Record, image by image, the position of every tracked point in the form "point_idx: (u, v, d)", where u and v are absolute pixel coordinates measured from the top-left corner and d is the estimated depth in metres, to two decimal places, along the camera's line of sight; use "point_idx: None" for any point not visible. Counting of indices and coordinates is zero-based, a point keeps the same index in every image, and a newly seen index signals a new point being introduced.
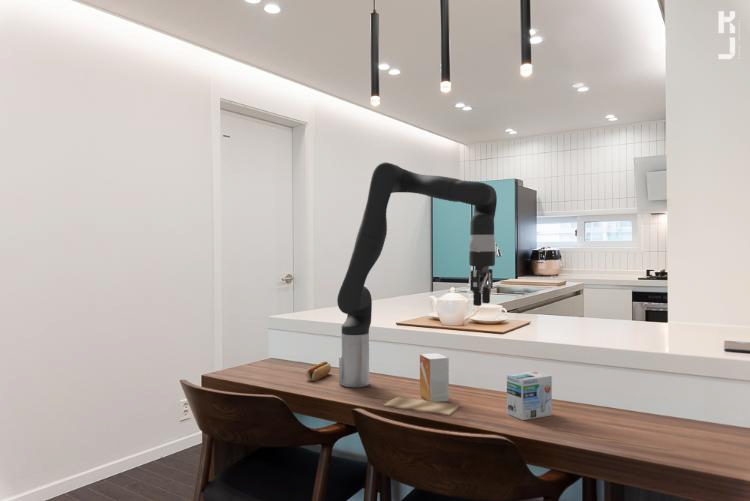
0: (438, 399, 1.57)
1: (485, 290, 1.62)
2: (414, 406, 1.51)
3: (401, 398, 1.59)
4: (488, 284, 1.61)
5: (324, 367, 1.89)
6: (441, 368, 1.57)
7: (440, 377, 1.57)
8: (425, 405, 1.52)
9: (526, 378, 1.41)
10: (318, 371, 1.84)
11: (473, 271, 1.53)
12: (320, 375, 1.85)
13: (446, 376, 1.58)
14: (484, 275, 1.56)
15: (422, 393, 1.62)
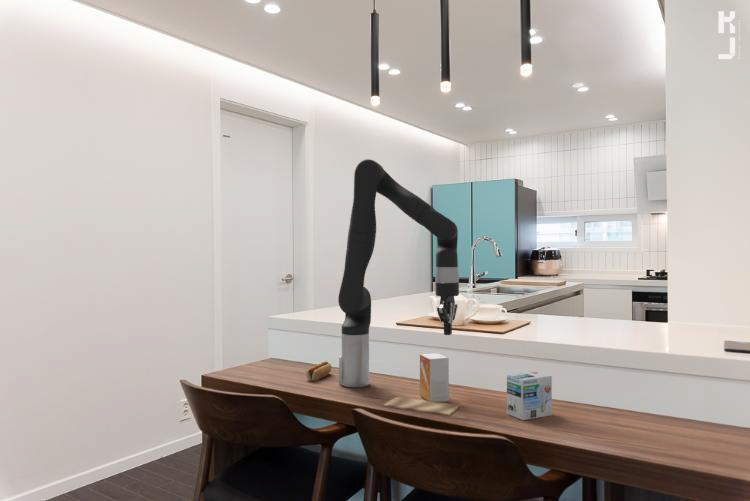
0: (438, 399, 1.57)
1: None
2: (414, 406, 1.51)
3: (401, 398, 1.59)
4: None
5: (324, 367, 1.89)
6: (441, 368, 1.57)
7: (439, 377, 1.57)
8: (425, 405, 1.52)
9: (526, 378, 1.41)
10: (318, 371, 1.84)
11: (439, 309, 1.67)
12: (320, 375, 1.85)
13: (446, 376, 1.58)
14: (449, 306, 1.69)
15: (422, 393, 1.62)
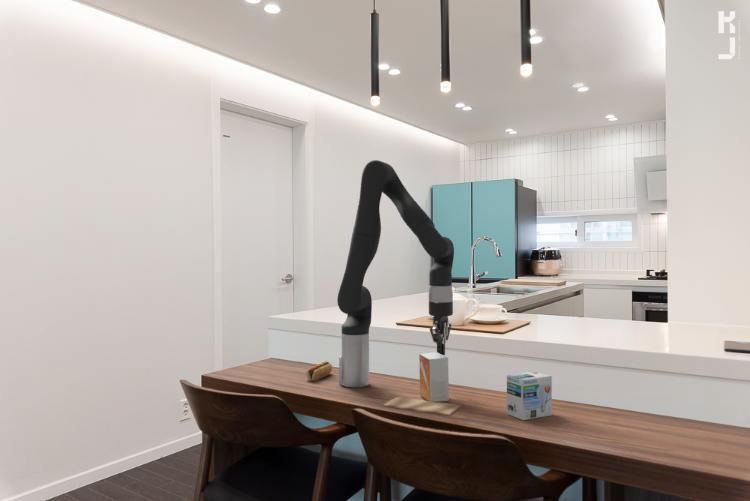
0: (438, 399, 1.57)
1: None
2: (414, 406, 1.51)
3: (401, 398, 1.59)
4: None
5: (325, 367, 1.89)
6: (440, 368, 1.57)
7: (439, 377, 1.57)
8: (425, 405, 1.52)
9: (526, 378, 1.41)
10: (318, 371, 1.84)
11: (432, 330, 1.61)
12: (320, 375, 1.85)
13: (446, 376, 1.58)
14: (443, 326, 1.64)
15: (422, 392, 1.62)
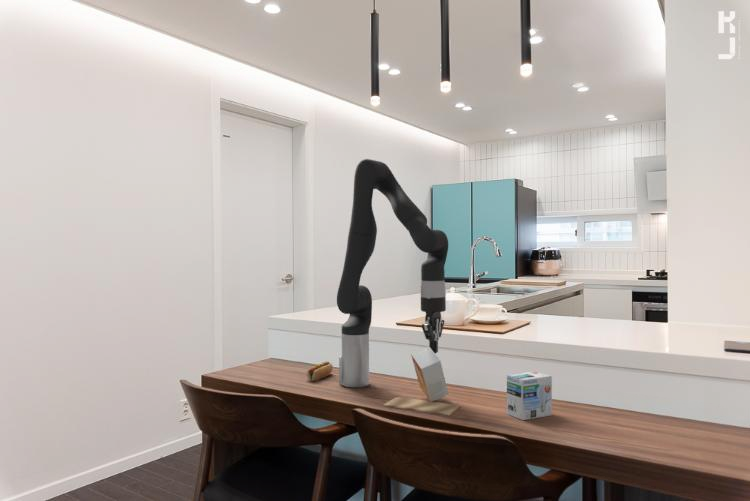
0: (437, 397, 1.57)
1: None
2: (414, 406, 1.51)
3: (401, 398, 1.59)
4: None
5: (325, 367, 1.89)
6: (434, 372, 1.53)
7: (435, 379, 1.54)
8: (425, 405, 1.52)
9: (526, 378, 1.41)
10: (318, 371, 1.84)
11: (424, 326, 1.55)
12: (320, 375, 1.85)
13: (442, 376, 1.54)
14: (435, 322, 1.58)
15: (421, 387, 1.61)
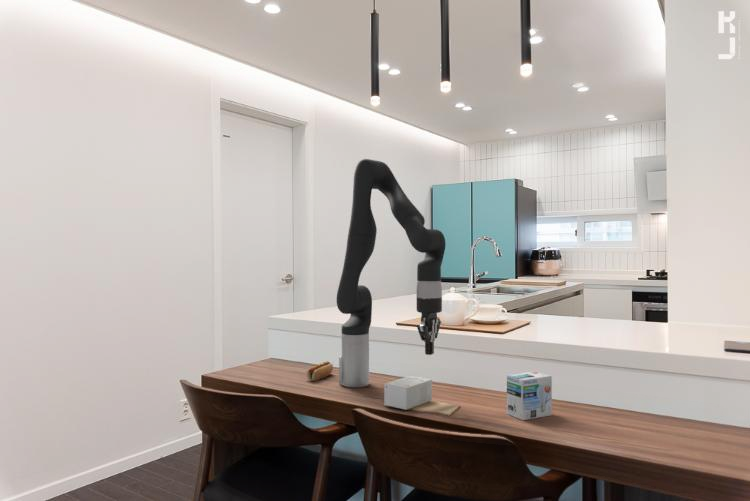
0: (430, 391, 1.57)
1: None
2: None
3: None
4: None
5: (325, 367, 1.89)
6: (412, 394, 1.50)
7: (418, 394, 1.52)
8: (425, 405, 1.52)
9: (526, 378, 1.41)
10: (318, 371, 1.84)
11: (419, 327, 1.53)
12: (320, 375, 1.85)
13: (418, 386, 1.52)
14: (431, 323, 1.56)
15: None
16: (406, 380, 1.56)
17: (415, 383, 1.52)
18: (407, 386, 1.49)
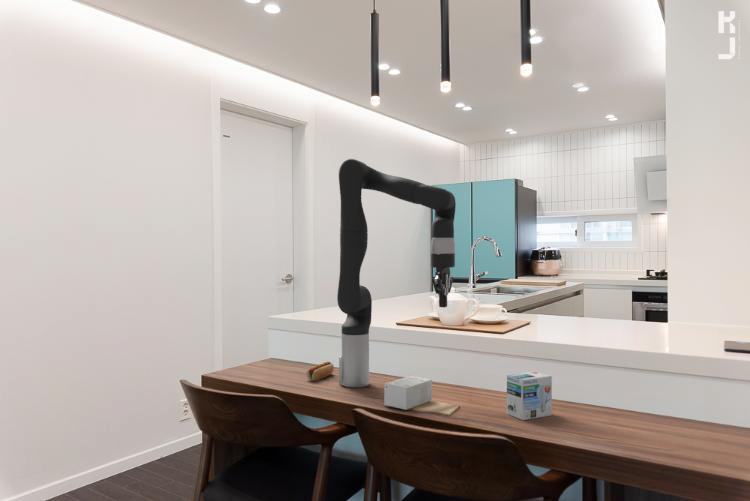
0: (430, 391, 1.57)
1: None
2: None
3: None
4: None
5: (326, 367, 1.89)
6: (412, 394, 1.50)
7: (418, 394, 1.52)
8: (425, 405, 1.52)
9: (526, 378, 1.41)
10: (318, 371, 1.84)
11: (434, 280, 1.63)
12: (320, 375, 1.85)
13: (418, 386, 1.52)
14: (445, 278, 1.66)
15: None
16: (406, 380, 1.56)
17: (415, 383, 1.52)
18: (407, 386, 1.49)
